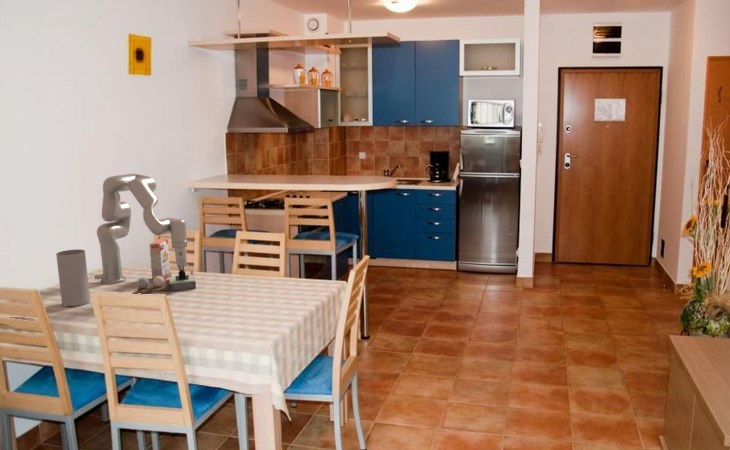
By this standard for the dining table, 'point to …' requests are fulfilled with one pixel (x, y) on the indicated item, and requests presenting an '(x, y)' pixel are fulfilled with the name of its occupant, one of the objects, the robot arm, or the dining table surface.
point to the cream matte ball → (158, 281)
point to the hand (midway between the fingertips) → (182, 279)
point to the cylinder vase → (73, 277)
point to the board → (152, 289)
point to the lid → (176, 280)
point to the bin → (182, 285)
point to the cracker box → (160, 258)
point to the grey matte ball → (143, 283)
